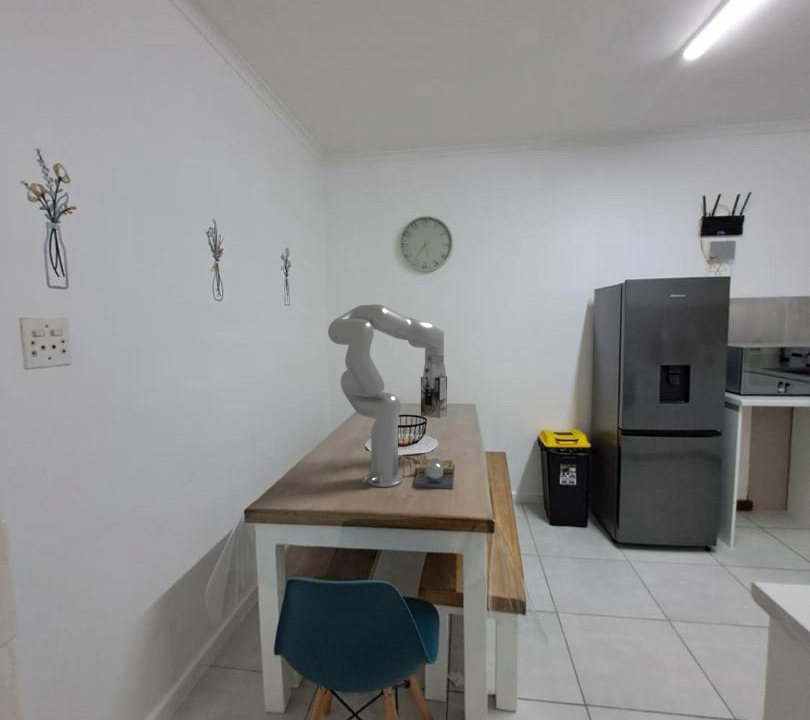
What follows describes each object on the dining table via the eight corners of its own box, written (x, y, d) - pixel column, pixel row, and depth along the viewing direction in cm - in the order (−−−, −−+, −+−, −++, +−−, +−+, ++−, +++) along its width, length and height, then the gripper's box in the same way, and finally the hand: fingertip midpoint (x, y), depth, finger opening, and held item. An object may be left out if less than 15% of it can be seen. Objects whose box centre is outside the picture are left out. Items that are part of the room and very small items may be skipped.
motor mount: (452, 488, 142) (452, 467, 142) (414, 487, 144) (414, 465, 143) (454, 468, 162) (454, 449, 161) (420, 467, 164) (420, 448, 163)
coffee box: (447, 416, 171) (448, 376, 170) (439, 418, 166) (440, 377, 164) (428, 413, 176) (428, 374, 175) (419, 416, 171) (420, 376, 169)
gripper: (428, 361, 160) (428, 408, 161) (454, 359, 173) (453, 402, 175) (413, 360, 165) (413, 405, 166) (439, 358, 178) (438, 400, 179)
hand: (433, 403), depth 170 cm, fingers closed on coffee box, 6 cm apart
